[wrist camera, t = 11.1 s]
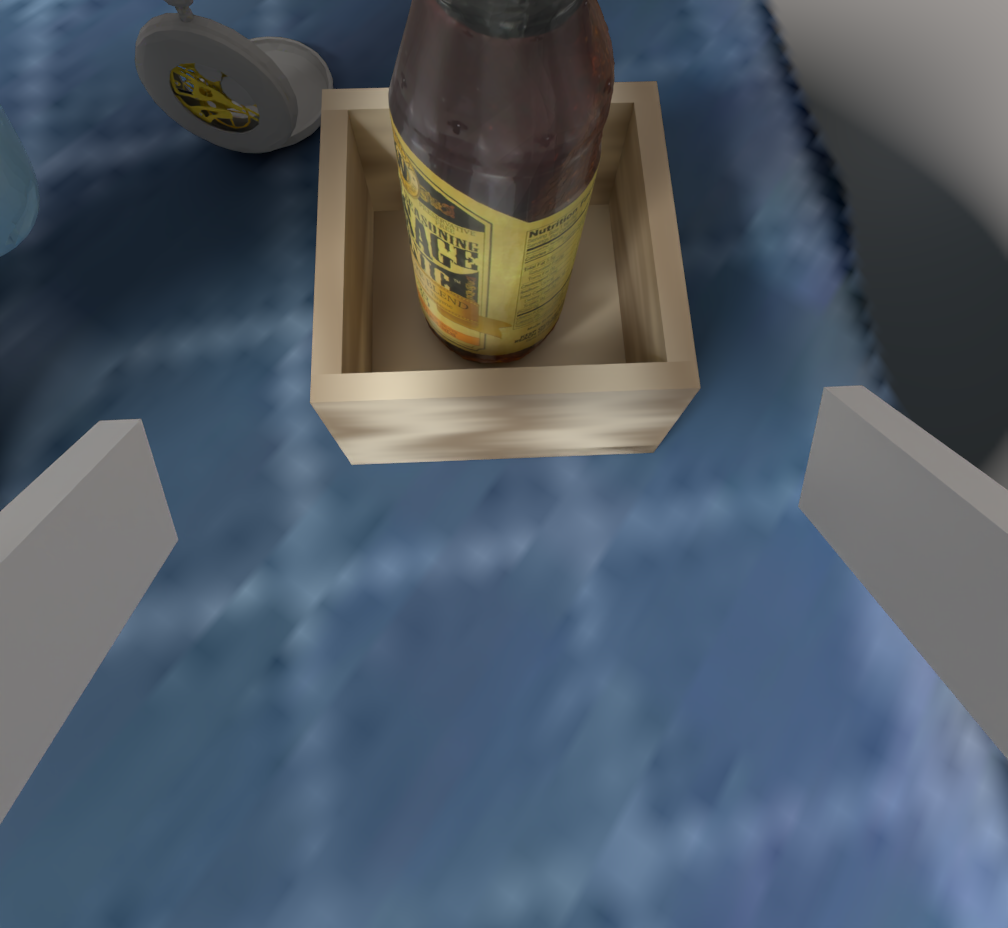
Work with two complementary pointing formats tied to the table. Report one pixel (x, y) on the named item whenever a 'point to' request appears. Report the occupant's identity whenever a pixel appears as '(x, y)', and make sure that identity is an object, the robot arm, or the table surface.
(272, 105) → the pocket watch
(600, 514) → the table surface
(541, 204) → the sauce bottle
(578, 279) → the crate
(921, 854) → the table surface
